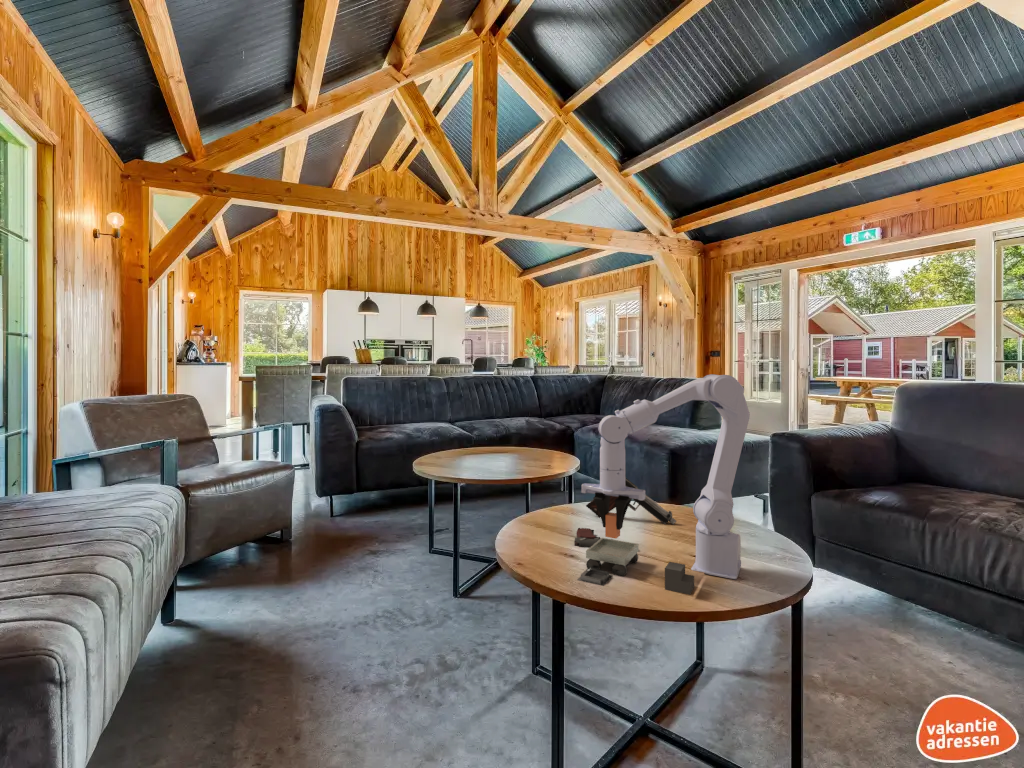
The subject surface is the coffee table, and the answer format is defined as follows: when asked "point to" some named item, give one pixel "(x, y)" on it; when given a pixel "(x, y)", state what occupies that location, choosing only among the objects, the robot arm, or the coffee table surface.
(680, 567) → the block
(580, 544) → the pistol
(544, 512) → the coffee table surface
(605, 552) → the trolley
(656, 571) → the coffee table surface
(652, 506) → the handgun
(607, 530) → the orange rectangular block
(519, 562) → the coffee table surface
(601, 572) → the socket
